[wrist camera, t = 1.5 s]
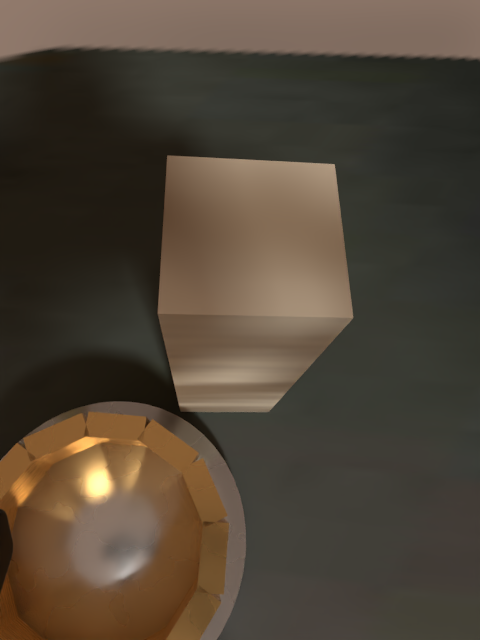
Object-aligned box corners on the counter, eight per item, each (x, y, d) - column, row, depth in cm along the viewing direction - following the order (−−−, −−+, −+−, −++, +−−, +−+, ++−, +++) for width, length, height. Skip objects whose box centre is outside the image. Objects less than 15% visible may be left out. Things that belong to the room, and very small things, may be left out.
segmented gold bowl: (289, 607, 19) (308, 631, 16) (12, 778, 16) (-36, 852, 13) (182, 367, 22) (179, 346, 19) (-61, 472, 20) (-112, 469, 16)
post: (268, 411, 22) (353, 317, 10) (180, 411, 22) (157, 314, 10) (265, 329, 24) (334, 164, 12) (183, 328, 23) (167, 155, 11)
